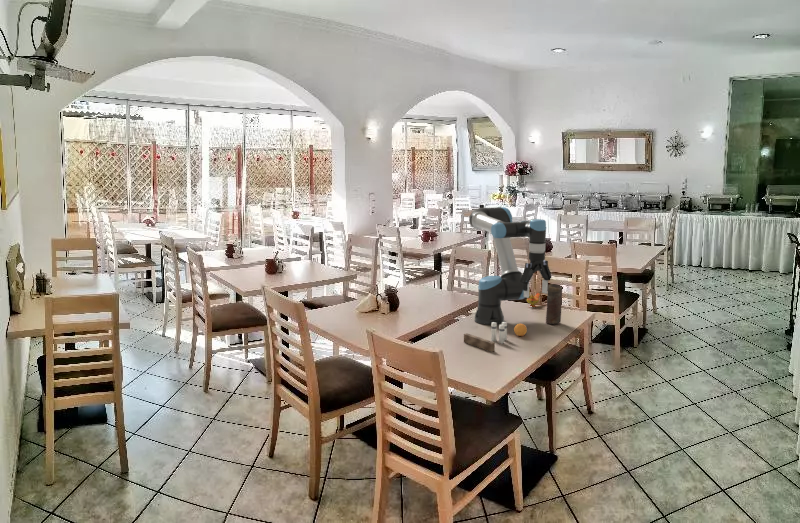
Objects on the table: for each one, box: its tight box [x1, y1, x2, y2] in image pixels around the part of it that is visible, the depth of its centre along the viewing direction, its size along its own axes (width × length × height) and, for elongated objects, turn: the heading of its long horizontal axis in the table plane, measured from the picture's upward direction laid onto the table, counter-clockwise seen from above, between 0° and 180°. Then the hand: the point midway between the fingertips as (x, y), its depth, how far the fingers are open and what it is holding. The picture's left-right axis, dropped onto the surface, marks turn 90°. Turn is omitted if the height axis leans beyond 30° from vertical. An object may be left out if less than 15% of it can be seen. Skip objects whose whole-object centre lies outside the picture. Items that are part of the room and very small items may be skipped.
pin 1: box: [490, 322, 498, 342], centre depth 277 cm, size 2×2×8 cm
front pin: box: [501, 321, 508, 342], centre depth 278 cm, size 2×2×8 cm
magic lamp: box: [526, 289, 542, 308], centre depth 340 cm, size 7×18×11 cm, turn 143°
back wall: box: [463, 333, 496, 353], centre depth 269 cm, size 18×2×4 cm, turn 36°
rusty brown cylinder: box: [545, 283, 563, 325], centre depth 303 cm, size 8×7×20 cm
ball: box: [513, 323, 528, 337], centre depth 284 cm, size 6×6×6 cm
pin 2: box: [498, 324, 505, 345], centre depth 273 cm, size 2×2×8 cm
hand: (535, 295), depth 287 cm, fingers open, 13 cm apart
